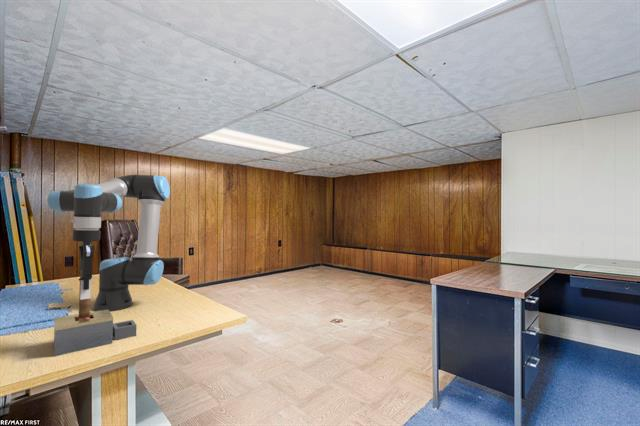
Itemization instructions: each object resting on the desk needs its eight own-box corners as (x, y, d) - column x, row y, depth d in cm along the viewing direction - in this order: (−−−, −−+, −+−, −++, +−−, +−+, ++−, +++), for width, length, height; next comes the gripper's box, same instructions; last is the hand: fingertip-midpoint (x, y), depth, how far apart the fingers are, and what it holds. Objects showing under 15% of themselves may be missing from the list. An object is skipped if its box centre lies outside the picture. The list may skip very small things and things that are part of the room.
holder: (111, 334, 111) (112, 323, 111) (132, 330, 115) (132, 319, 115) (114, 340, 106) (115, 329, 106) (136, 335, 110) (136, 324, 110)
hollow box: (53, 344, 102) (54, 317, 102) (107, 333, 112) (108, 309, 112) (54, 356, 93) (55, 327, 94) (112, 343, 104) (113, 317, 104)
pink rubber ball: (77, 327, 103) (77, 318, 103) (89, 325, 105) (89, 316, 105) (78, 330, 100) (78, 321, 100) (90, 328, 103) (90, 319, 103)
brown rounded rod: (78, 316, 103) (79, 269, 103) (89, 314, 105) (90, 268, 105) (79, 318, 100) (80, 271, 101) (90, 316, 103) (91, 270, 103)
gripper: (71, 228, 106) (69, 294, 106) (74, 230, 94) (72, 305, 94) (97, 228, 111) (95, 291, 111) (103, 230, 99) (101, 301, 99)
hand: (84, 297), depth 103 cm, fingers closed on brown rounded rod, 3 cm apart
